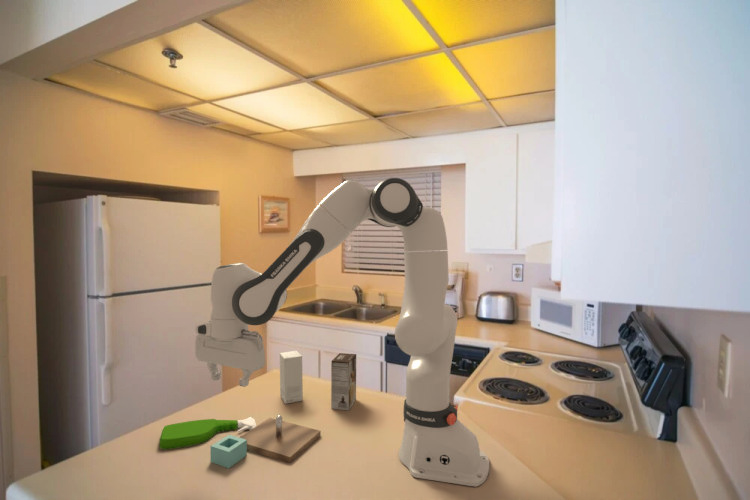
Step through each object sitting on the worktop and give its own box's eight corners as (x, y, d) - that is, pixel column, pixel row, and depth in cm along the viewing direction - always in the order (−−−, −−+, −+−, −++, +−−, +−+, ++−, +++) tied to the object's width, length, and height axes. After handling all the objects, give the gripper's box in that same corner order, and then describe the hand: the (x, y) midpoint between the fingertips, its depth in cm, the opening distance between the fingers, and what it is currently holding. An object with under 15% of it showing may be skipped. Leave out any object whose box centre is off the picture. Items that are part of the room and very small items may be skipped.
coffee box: (338, 397, 130) (339, 352, 129) (356, 399, 128) (356, 353, 128) (330, 409, 121) (331, 360, 120) (349, 411, 120) (349, 362, 119)
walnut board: (320, 436, 104) (320, 430, 104) (290, 462, 91) (290, 456, 91) (269, 422, 111) (269, 417, 111) (234, 445, 98) (234, 440, 98)
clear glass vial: (283, 436, 101) (283, 414, 101) (279, 439, 100) (279, 417, 100) (278, 435, 102) (278, 413, 102) (274, 437, 101) (274, 416, 101)
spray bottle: (163, 433, 105) (253, 419, 115) (157, 454, 95) (257, 436, 105) (163, 423, 105) (253, 410, 115) (158, 442, 95) (257, 426, 105)
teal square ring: (246, 455, 94) (246, 439, 94) (228, 468, 89) (228, 451, 88) (229, 449, 96) (229, 434, 96) (210, 461, 91) (210, 446, 91)
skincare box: (303, 401, 126) (303, 356, 126) (283, 404, 123) (284, 358, 123) (297, 392, 134) (297, 349, 134) (278, 395, 131) (279, 351, 131)
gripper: (271, 329, 91) (270, 385, 91) (210, 321, 99) (210, 372, 99) (253, 335, 85) (252, 394, 85) (190, 326, 93) (190, 380, 94)
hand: (229, 382), depth 92 cm, fingers open, 8 cm apart
